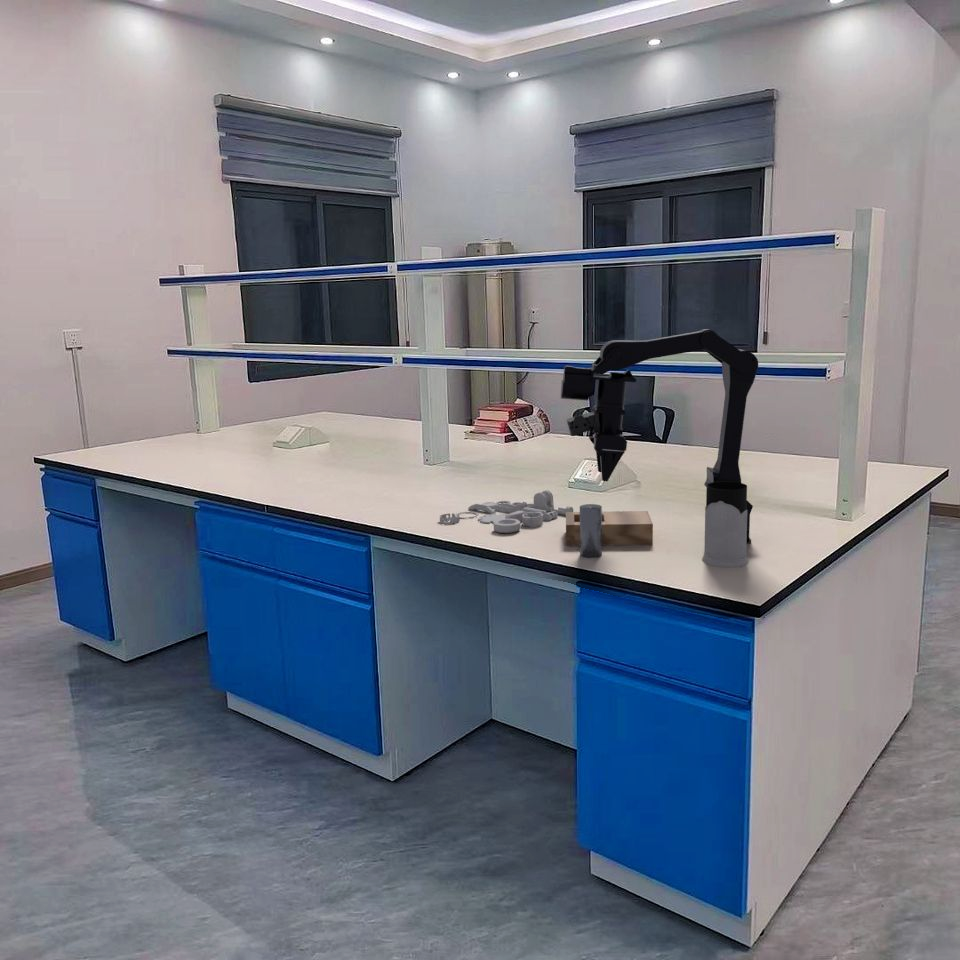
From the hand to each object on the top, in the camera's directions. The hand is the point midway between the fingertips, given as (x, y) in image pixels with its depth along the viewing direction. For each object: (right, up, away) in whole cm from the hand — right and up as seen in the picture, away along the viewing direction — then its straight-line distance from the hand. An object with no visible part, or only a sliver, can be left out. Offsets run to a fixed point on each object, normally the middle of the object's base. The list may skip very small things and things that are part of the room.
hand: (602, 476), depth 181 cm
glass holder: (+24, -16, -10) cm, 30 cm away
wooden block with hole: (+2, -13, +6) cm, 15 cm away
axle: (-3, -16, -5) cm, 17 cm away
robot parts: (-20, -10, +27) cm, 35 cm away
